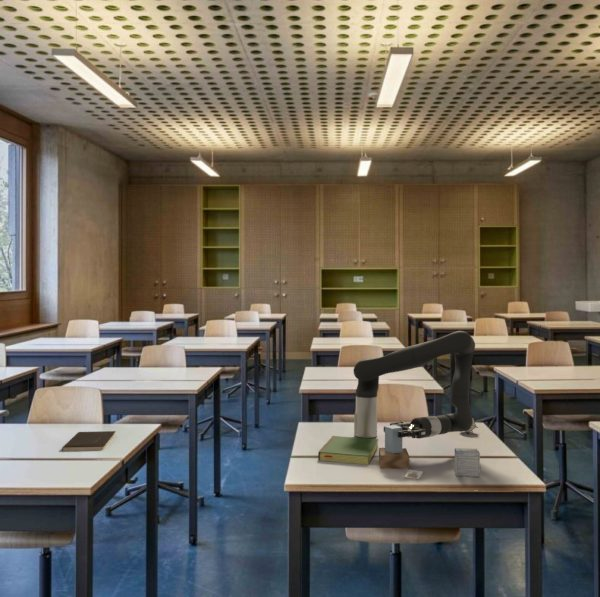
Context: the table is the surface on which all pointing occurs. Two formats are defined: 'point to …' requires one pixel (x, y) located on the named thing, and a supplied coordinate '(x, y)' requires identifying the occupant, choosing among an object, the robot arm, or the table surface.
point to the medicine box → (467, 462)
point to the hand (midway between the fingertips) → (391, 432)
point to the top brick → (393, 439)
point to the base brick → (393, 459)
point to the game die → (472, 426)
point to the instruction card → (413, 474)
